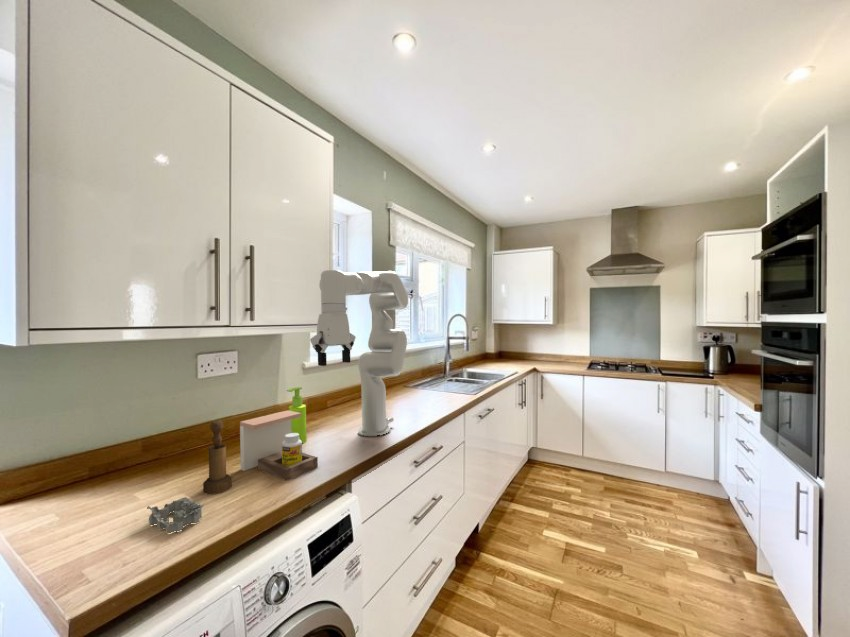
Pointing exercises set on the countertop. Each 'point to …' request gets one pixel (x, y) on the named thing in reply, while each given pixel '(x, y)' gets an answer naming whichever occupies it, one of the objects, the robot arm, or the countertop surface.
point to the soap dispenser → (298, 423)
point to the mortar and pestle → (217, 464)
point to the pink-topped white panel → (263, 436)
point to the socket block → (275, 467)
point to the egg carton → (176, 515)
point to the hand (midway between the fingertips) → (334, 363)
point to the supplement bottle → (291, 449)
